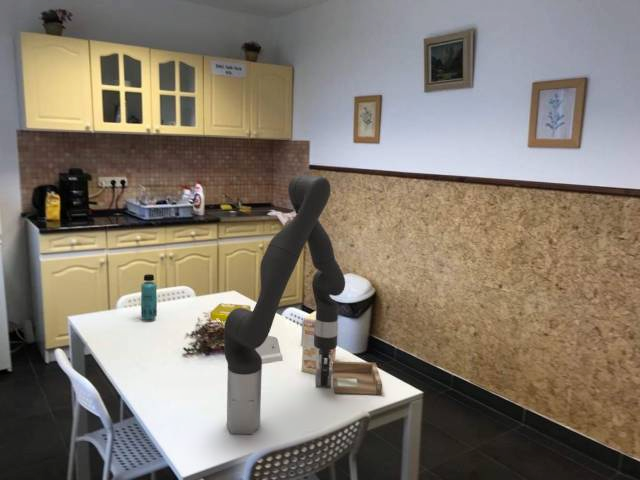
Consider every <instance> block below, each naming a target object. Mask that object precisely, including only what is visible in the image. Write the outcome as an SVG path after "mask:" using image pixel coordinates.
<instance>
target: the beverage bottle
mask: <svg viewBox="0 0 640 480" xmlns="http://www.w3.org/2000/svg"><path fill="white" fill-rule="evenodd" d="M154 280H155V276H154V274H150V273H147V274H144V275H143V281H144V282H143V283H142V284H141V287H140V289H141V292H140V293H141V296H140V298H141V299H140V314H141V315H140V316H141V318H142V319H143V320H144V319H145V320H152V319H155V318H156V317H157V315H158V314H157V313H158V308H157V306H158V303H157V302H158V299H157V287H158V285H157V283H155V282H154Z"/></svg>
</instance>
